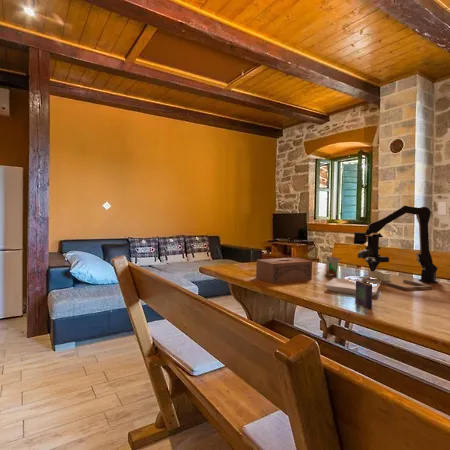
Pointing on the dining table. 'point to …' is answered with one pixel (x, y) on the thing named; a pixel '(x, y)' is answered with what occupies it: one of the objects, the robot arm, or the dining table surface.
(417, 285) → the frame
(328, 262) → the food container
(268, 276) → the tissue box cover
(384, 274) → the T block
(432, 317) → the dining table surface
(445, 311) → the dining table surface
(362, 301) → the flask
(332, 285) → the salad plate
